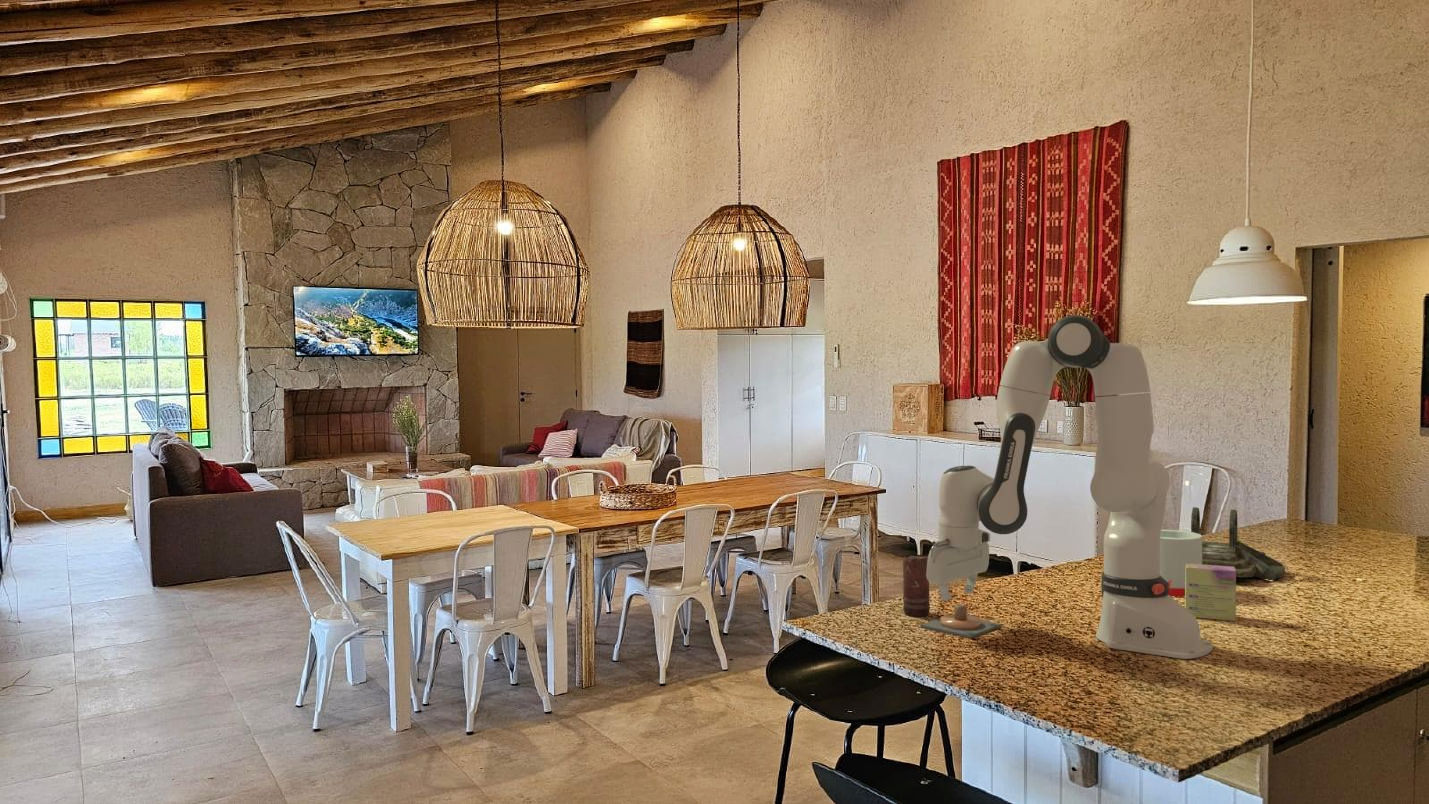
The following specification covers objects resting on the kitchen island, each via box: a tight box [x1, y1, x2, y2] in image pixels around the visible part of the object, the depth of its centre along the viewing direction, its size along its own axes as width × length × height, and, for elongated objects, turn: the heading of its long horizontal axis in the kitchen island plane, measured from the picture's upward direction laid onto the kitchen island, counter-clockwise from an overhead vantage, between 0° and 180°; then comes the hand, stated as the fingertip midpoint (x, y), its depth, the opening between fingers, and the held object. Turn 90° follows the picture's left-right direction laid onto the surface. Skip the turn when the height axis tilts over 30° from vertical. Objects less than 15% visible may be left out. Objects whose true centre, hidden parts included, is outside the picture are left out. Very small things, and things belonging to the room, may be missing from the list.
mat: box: [919, 617, 1002, 639], centre depth 216 cm, size 13×13×1 cm
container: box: [1160, 529, 1203, 598], centre depth 248 cm, size 16×16×15 cm
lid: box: [940, 604, 982, 630], centre depth 216 cm, size 9×9×4 cm
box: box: [1184, 563, 1237, 622], centre depth 221 cm, size 10×6×12 cm, turn 65°
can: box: [902, 554, 930, 618], centre depth 228 cm, size 6×6×14 cm
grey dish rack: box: [1190, 506, 1286, 581], centre depth 270 cm, size 35×34×18 cm
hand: (957, 596), depth 216 cm, fingers open, 8 cm apart
